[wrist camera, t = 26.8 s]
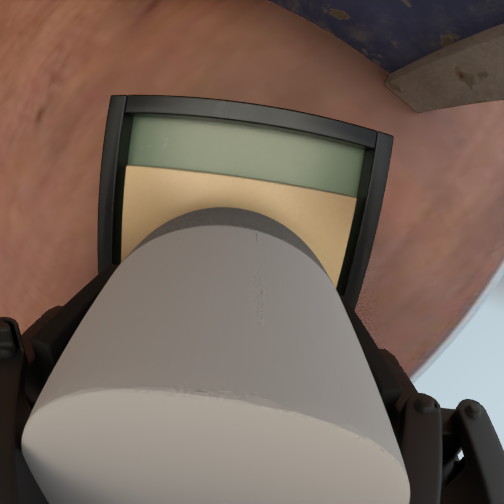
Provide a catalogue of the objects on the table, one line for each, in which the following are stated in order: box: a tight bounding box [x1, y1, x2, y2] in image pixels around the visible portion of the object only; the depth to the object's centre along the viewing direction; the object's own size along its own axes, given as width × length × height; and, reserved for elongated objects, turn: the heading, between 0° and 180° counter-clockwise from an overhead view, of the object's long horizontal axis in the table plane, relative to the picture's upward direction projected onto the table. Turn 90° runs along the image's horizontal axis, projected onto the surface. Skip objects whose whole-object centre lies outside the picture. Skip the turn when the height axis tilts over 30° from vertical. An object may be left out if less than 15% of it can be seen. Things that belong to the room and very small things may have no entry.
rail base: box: [98, 95, 394, 310], centre depth 18 cm, size 28×15×2 cm, turn 171°
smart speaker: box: [21, 207, 410, 504], centre depth 9 cm, size 10×9×14 cm
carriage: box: [121, 165, 357, 289], centre depth 15 cm, size 14×12×4 cm
